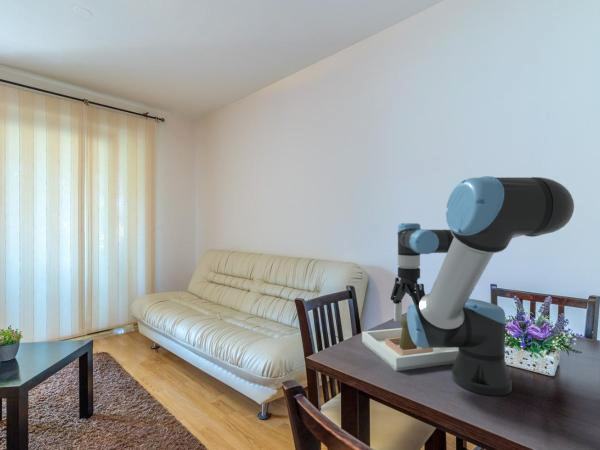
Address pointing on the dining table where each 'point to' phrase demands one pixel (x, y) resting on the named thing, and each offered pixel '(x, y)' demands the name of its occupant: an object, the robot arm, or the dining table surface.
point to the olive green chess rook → (406, 336)
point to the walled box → (405, 351)
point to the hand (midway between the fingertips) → (408, 326)
